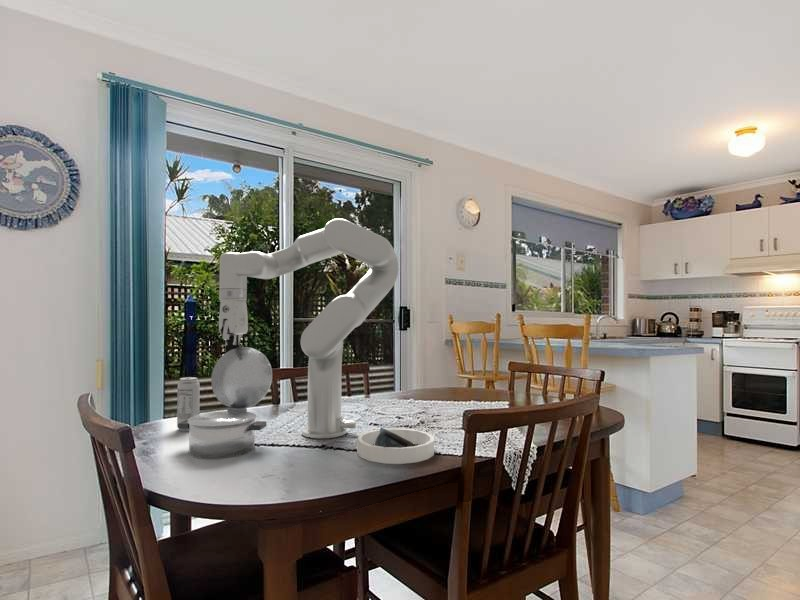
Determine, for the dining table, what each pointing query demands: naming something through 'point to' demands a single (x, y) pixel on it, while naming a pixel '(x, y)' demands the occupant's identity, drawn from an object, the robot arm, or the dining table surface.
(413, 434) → the round white tray
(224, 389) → the lid
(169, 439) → the dining table surface
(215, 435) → the pot
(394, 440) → the dark grey wedge
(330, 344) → the robot arm
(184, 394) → the energy drink can
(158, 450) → the dining table surface
